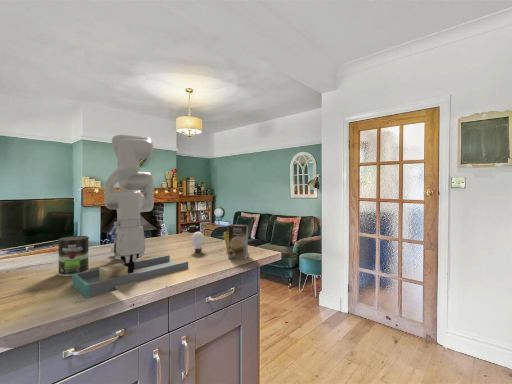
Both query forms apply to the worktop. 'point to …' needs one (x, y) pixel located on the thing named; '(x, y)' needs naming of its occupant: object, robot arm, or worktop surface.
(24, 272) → the worktop surface
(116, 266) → the maple block
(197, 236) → the light bulb
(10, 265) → the worktop surface
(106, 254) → the worktop surface
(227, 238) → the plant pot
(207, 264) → the worktop surface
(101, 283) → the box
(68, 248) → the coffee can
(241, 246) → the coffee box
